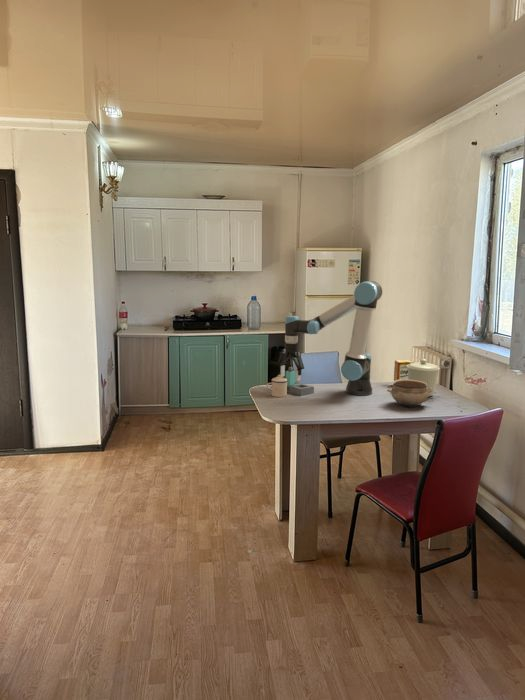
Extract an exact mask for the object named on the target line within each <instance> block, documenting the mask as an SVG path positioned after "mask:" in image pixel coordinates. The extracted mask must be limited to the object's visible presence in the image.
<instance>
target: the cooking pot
mask: <svg viewBox="0 0 525 700" xmlns="http://www.w3.org/2000/svg"><path fill="white" fill-rule="evenodd" d="M392 383H393V384H394V385H392V387H391V389H387V390H386V392H389V393H390V395H391V397H392V399H393V400H395V401H396V402H397V403H398V404H400V405H401V406H403V407H406V408H415V407H417V406H419V405H421V404H423V403H425V402H426V401H427V400H428V398H429V397H428V393H430V392H431V391H432V389H431V388H430V389H427V385H428V384H427V383H425V382H423V381H418V380H410V379H400V380H395V381H394V380H393V381H392ZM429 390H430V391H429Z"/></svg>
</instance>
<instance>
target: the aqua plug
mask: <svg viewBox="0 0 525 700" xmlns="http://www.w3.org/2000/svg"><path fill="white" fill-rule="evenodd" d="M285 378H286V379H287V386H288V387H289V386H290V385H296V371H294V369H293V366H288V370H285Z"/></svg>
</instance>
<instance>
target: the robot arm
mask: <svg viewBox="0 0 525 700" xmlns="http://www.w3.org/2000/svg"><path fill="white" fill-rule="evenodd" d="M382 296H383V288H382V286H381V284H380V283H379V282H377V281H374V280H372V281H371V280H370V281H368V280H367V281H363V282H360V283H359V284H358V285H356V286H355V288H354V292H353V295H351V296H350V297H348V298H347V299H345V300H342V302H340V303H338V304H336V305H334V306H332V308H331V307H330V308H329V309H328V310H326V311H324V312H322V313H321V314H319V315H317V316H316V317H314V318H313V319H308V320H305V319H304V320H302V319H299V318H300V317H299V316H297V315H287V316H285V322H284V332H285V333H284V342H285V343H284V348H283V349H281V352H280V356H279V358H278V360H277V364H278V365H279V370H280V375H281V377H283V378H284V377H286V365H285V364H286V363H287V361H288V360H289V359H290V360H292V361H293V363H294V365H295V368H296V371H295V382H298V381H301V380H302V379H301V375H302V370H304V369H305V365H304V363H303V359H302V353H301V351H300V352H299V351H298V348H299V346H298V345H299V344H298V341H299V334H306V335H317V334H318V333H319V332H320V331H321V330H323V329H324V328H325V327H327V326H328V325H331V324H332V323H334V322H336V321H338V320H340V319H341V318H343V317H344V316H346V315H348V314H350V313H352V312H354V311H355V310H356V311H355V315H354V321H353V326H352V327H353V328H352V332H351V338H350V342H349V350H348V351H347V352H346V353H345V355H344V360H343V362H342V364H341V367H340V372H341V375H342V376H343V377H344V379H346V380H348V382H347V384H346V387H345V392H346V393H347V394H348V395H353V396H370V395H372V394H373V387H372V384H371V383H372V382H371V368H372V367H371V366H372V356H371V354H369V353H366V349H367V344H368V343H367V342H368V338H369V333H370V326H371V322H372V321H371V320H372V315H373V311H374V310H376V309H377V304H378V301H379V300H380V299H381V298H382ZM297 351H298V352H297Z"/></svg>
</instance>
